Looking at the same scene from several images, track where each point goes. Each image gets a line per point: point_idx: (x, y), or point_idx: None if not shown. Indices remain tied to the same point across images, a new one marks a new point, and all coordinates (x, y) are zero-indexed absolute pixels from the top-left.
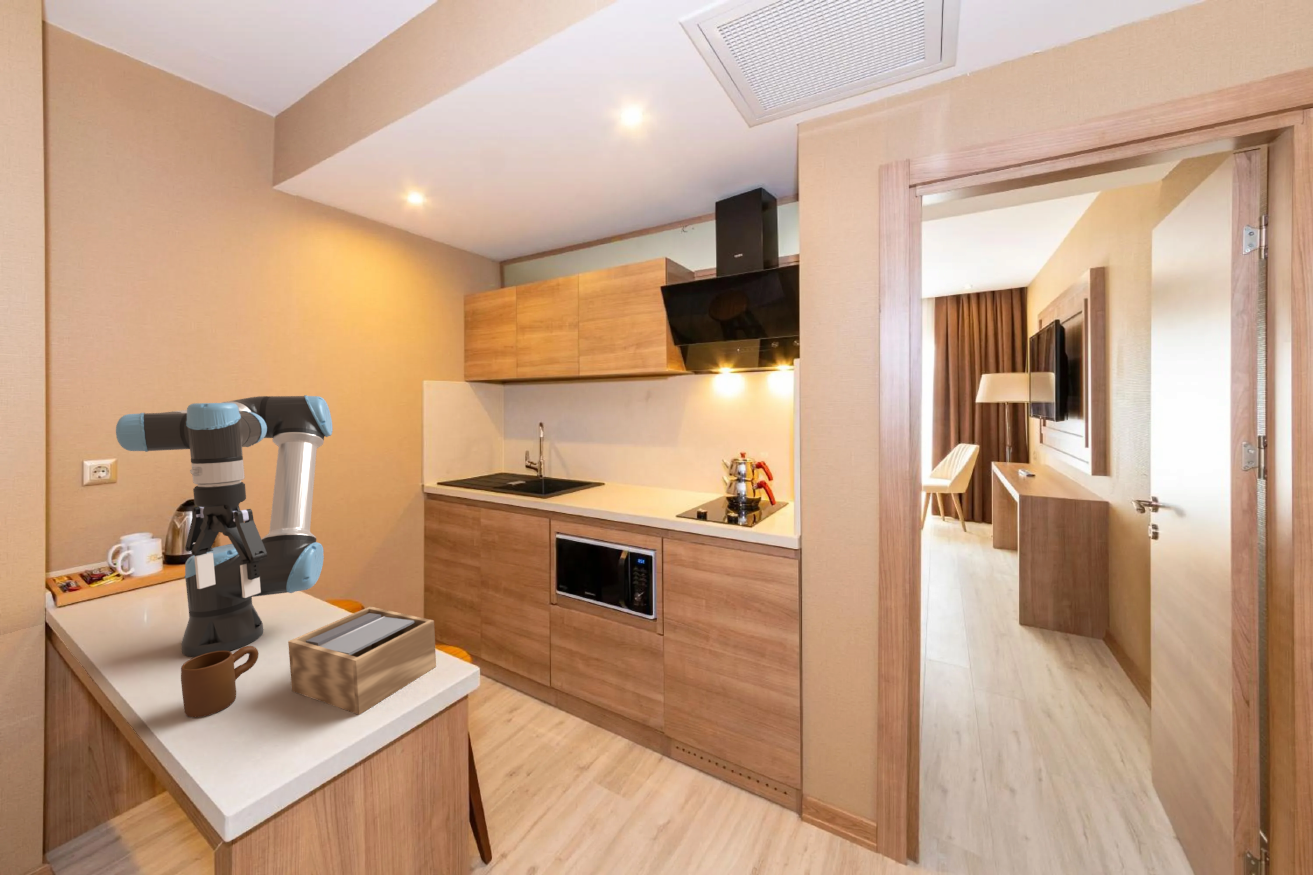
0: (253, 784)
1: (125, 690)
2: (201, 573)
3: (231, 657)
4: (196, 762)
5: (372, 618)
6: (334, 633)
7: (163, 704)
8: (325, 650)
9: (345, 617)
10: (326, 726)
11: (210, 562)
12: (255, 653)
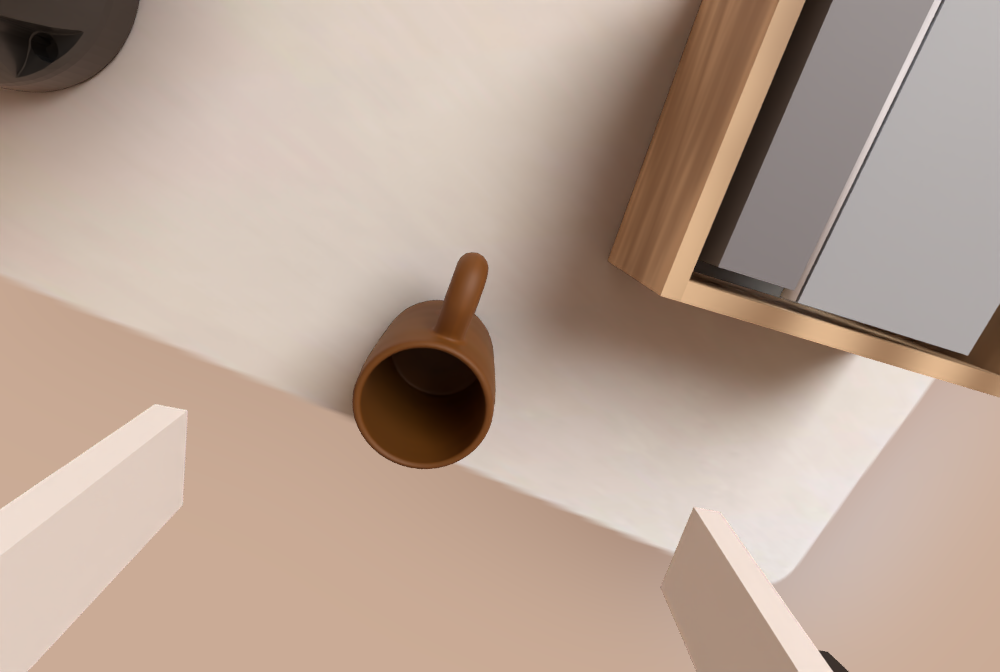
0: (768, 543)
1: (90, 308)
2: (93, 578)
3: (483, 371)
4: (604, 511)
5: (927, 10)
6: (815, 199)
7: (294, 355)
8: (867, 349)
9: (777, 19)
10: (809, 388)
11: (6, 579)
12: (487, 274)
